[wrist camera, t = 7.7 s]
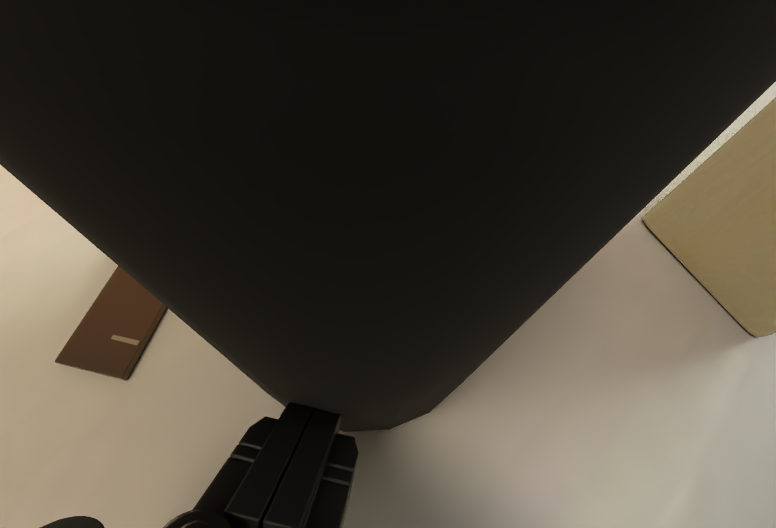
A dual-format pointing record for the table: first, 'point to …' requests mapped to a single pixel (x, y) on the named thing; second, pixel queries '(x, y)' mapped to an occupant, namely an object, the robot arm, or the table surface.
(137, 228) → the coffee jar
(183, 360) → the table surface
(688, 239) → the beige tall block
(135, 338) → the walnut ruler
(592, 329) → the table surface
